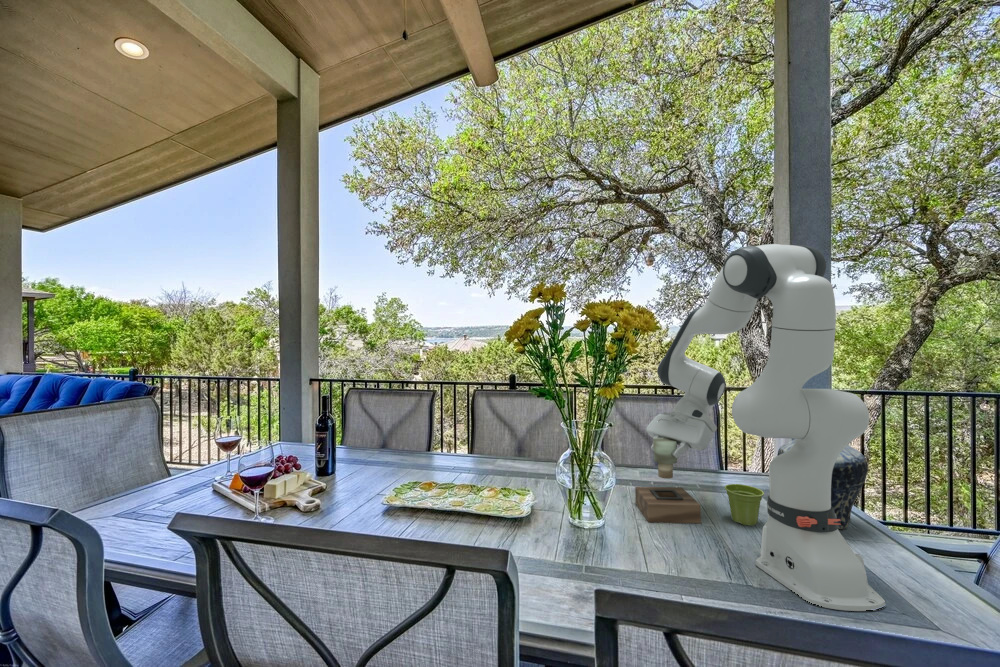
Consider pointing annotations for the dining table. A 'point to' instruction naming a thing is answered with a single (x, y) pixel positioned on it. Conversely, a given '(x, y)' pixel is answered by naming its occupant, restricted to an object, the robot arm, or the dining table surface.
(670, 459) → the peg
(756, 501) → the plant pot
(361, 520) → the dining table surface
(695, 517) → the hole block
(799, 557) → the robot arm
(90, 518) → the dining table surface
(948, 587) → the dining table surface
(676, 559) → the dining table surface
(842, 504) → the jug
